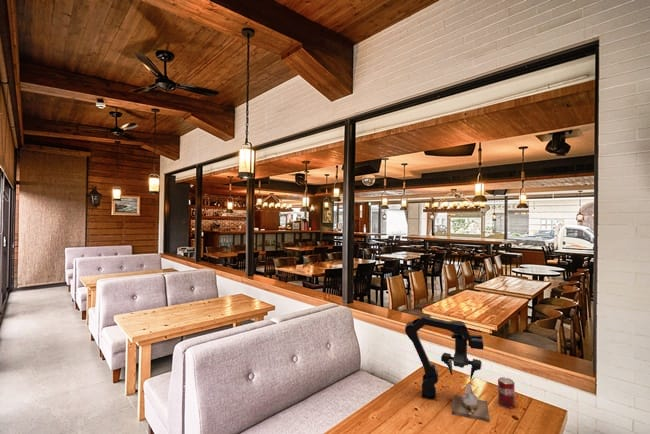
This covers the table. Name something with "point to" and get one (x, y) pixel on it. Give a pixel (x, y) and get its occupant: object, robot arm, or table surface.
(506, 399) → the soda can
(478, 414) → the post base
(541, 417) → the table surface
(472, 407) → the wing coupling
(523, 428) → the table surface
